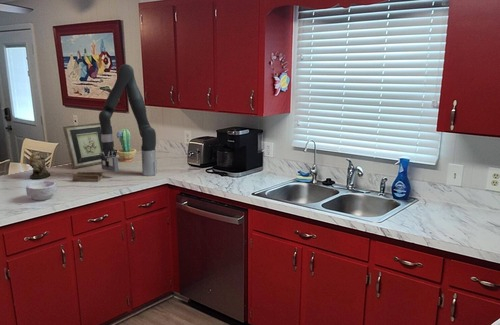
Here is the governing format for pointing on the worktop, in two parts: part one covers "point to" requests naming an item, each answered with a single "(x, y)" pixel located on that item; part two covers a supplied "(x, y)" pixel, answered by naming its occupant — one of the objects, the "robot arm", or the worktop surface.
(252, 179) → the worktop surface
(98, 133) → the picture frame
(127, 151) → the potted cactus
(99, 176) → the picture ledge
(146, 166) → the robot arm
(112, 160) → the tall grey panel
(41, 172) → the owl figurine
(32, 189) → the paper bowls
